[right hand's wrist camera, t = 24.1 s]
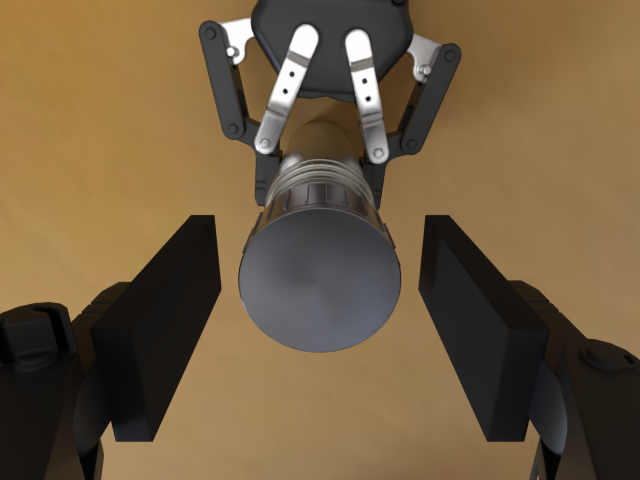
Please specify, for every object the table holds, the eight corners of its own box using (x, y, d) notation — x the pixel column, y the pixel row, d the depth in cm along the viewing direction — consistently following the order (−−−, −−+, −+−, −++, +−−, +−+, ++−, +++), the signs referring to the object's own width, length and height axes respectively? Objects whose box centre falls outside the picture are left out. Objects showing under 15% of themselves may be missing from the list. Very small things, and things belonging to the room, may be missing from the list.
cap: (222, 252, 14) (202, 288, 12) (316, 151, 13) (315, 168, 11) (322, 332, 16) (323, 380, 13) (417, 246, 14) (437, 281, 12)
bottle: (277, 134, 30) (215, 227, 12) (340, 111, 30) (372, 173, 12) (300, 194, 32) (275, 354, 14) (360, 174, 31) (415, 313, 13)
